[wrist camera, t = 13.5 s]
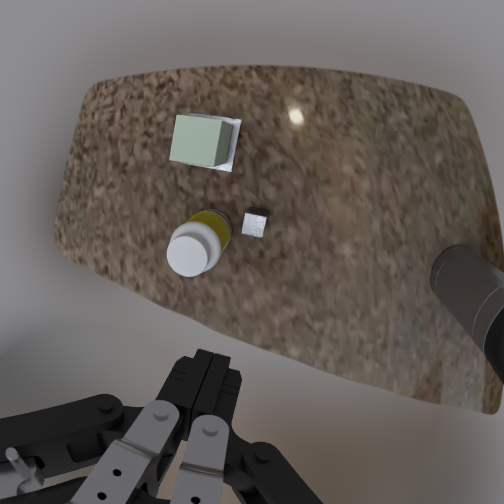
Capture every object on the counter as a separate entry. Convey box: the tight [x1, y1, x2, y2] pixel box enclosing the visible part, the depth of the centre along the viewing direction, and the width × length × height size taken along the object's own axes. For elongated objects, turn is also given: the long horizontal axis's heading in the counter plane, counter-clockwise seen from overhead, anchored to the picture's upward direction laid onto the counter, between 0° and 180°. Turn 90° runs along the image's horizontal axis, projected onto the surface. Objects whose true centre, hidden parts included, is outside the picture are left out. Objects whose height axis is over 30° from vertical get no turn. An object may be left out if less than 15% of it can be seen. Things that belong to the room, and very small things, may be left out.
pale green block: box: [170, 115, 233, 167], centre depth 35 cm, size 5×5×7 cm
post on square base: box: [181, 113, 242, 172], centre depth 36 cm, size 7×7×7 cm
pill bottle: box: [167, 209, 232, 277], centre depth 38 cm, size 6×6×11 cm
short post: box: [242, 207, 268, 237], centre depth 40 cm, size 3×3×4 cm
